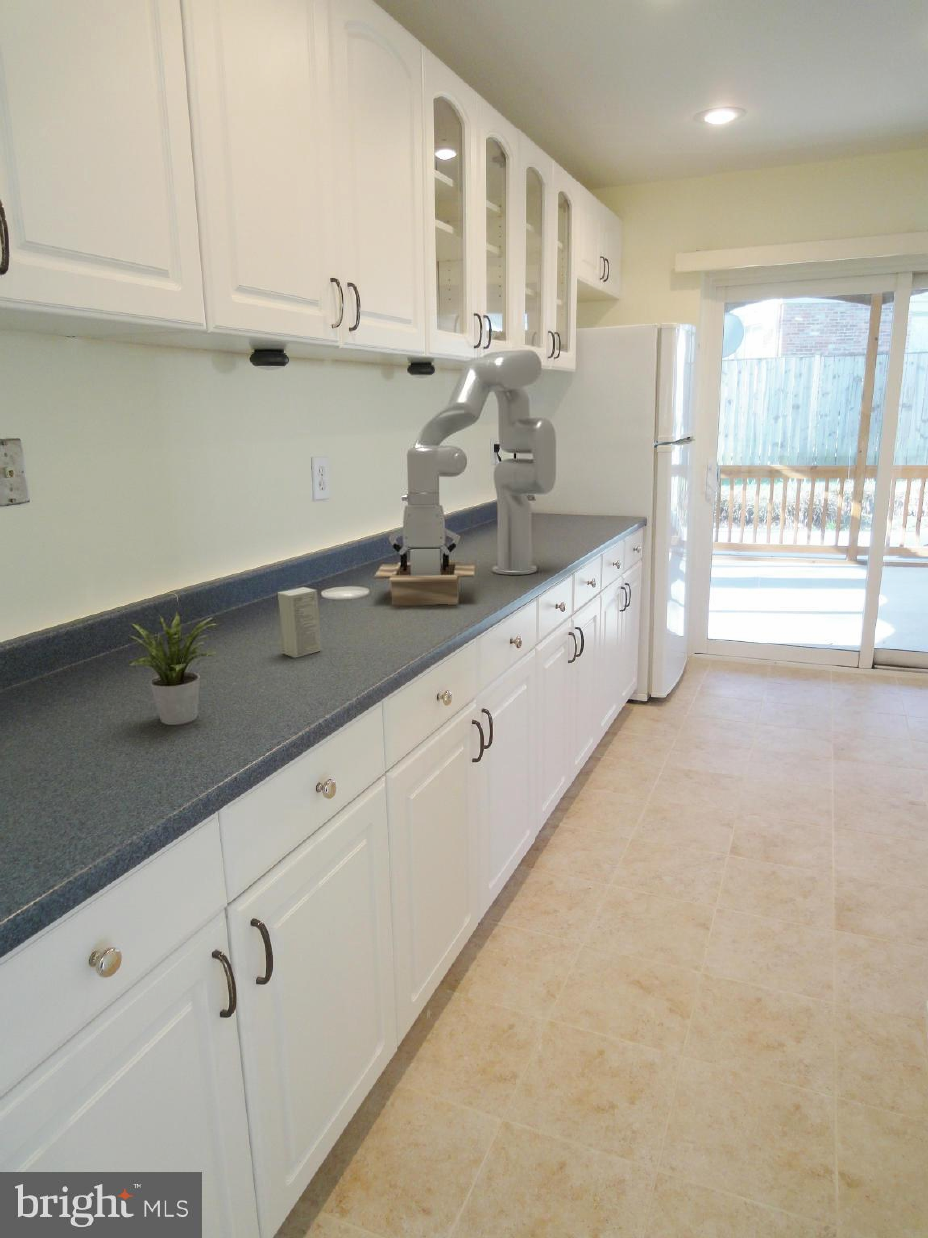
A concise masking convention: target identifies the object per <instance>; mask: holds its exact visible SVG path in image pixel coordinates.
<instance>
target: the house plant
mask: <svg viewBox="0 0 928 1238" xmlns="http://www.w3.org/2000/svg"><path fill="white" fill-rule="evenodd" d="M158 616H159V619H160V621H161V623H162V627H163V631H164V634H165V638H166V643H167V648H168V649H167V650H168V652H167V650H166V647H165V645H164V642H163V639H162V637H161V634H158V635H157V636H156V637H157V642H156V640H155V638H154V637H153V636H152V635H151V633H150V632H149V631H147V630H146V629H144V628H142V627H141V626H139V625H138V624H134V623H130V624H131V625H132V626H134V628H136V629H137V631H138V632H139V633H140V635H141V636H142V637H143V638H144V640H145V642H146V643H147V644H146V643H145V642H144V641H142V640H141V639H140V638H137V637H136V636H133V635H131V634H129V636H130V638H133V639H134V640H136V641H137V642H139V643H140V645H142V647H144V648H145V649H147V650H148V651H149V657H142V658H139V659H138V660H135V661H133V662H132V663H130V666H134V665H135V666H136V665H148V666H149V667H151V668H152V669H153V670H154V671H155V672H156V673H157V675H158V676H155V677H153V678H152V679H150V681H149V685H150V688H151V692H152V694H153V698H154V702H155V704H156V708H157V712H158V715H159V718H160V722H161V723H162V724H165V725H169V726H170V725H171V726H172V725H173V726H174V725H175V726H176V725H183V724H187V723H191V722H193V721H194V720H196V719H197V717H198V709H199V699H200V698H199V695H200V684H201V683H200V681H201V677H200V674H198V673H195V672H192V670H190V671H186V670H187V668H188V665H189V664H190V663H191V662H192V661H194V659H196V658H200V657H202V658H201V659H200V661H199V662H198V663H196V665H195V666H197V665H198V664H199V663H201V661H202V660H203V659H204V658H206V657H212V658H214V659H216V657H215V656H213V655H212V654H218V653H219V652H217V651H214V652H213V651H212V652H209V653H204V651H203V650H200V649H198V648H199V647H200V645H202V644H204V643H206V640H204V641H202V642H199V643H197V644H195V645H194V646H193V644H194V643H195V642H197V640H199V639H202V638H205V637H206V638H207V637H208V635H201V636H199V637H198V638H197V636H198V635H199V633H200V632H201V631H202V630H204V629H206V628H207V627H211V626H218V625H219V623H210V624H206V623H207V622H208V621H210V620H212V619H213V618H214V616H212V617H209V618H207V619H205V620H203V621H201V622H200V623H198V624H197V625H196V627H194V629H192V631H190V633H188V634H187V635H185V636H183V637H181V633H182V626H181V622H180V615H179V613H178V611H176V612H175V617H174V619H173V621H172V622H171V626H170V629H169V627H168V625H167V624H166V622H165V620H164V618H163V617H162V616H161V615H160V614H158ZM205 624H206V625H205ZM184 640H185V642H184V644H183V645H182V647H180V645H181V642H183V641H184ZM192 646H193V647H192ZM200 652H203V653H200ZM199 653H200V654H199Z"/></svg>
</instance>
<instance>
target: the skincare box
mask: <svg viewBox="0 0 928 1238" xmlns="http://www.w3.org/2000/svg"><path fill="white" fill-rule="evenodd" d="M277 599H278V601H277V602H278V612H279V614H278V615H279V623H280V624H279V625H280V636H281V637H280V638H281V639H280V640H281V648H282V650H281V651H282V655H283V654H284V655H285V656H289V657H291V658H295V659H296V658H299V657H303V656H307V655H310V654H314V653H317V652H320V651H321V650H322V646H321V634H320V619H319V618H320V617H319V615H320V614H319V604H318V602H319V601H318V590H317V589H313V588H310V587H306V586H302V587H296V588H292V589H288V590H283V591H278V592H277Z"/></svg>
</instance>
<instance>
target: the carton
mask: <svg viewBox="0 0 928 1238" xmlns="http://www.w3.org/2000/svg"><path fill="white" fill-rule="evenodd" d="M475 566H476V565H475V562H474V563H470V562H469V563H460V561H459V560H449V567H446V571H443V560H441V575H411V567H410V561H407V571H403V567H401V561H399V562H398V563H397V564H381V565H380V567H379V568H378V570H377V571H376V573H375V574H374V576H373V579H378V580H379V579H380V580H381V579H388V582H389V583H391V584H390V585H391V586H390V589H391V606H429V605H432V606H433V605H434V606H437V605H436V604H448V605H459V597H460V578H475V568H476V567H475Z"/></svg>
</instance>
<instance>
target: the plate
mask: <svg viewBox="0 0 928 1238" xmlns="http://www.w3.org/2000/svg"><path fill="white" fill-rule="evenodd" d="M320 594H321V597H322V598H324V599H326V600H327V599H328V600H337V601H338V600H342V601H343V600H354V599H359V598H360V599H361V598H364V597H368V596H369V595H370V589H369V588H368V587H364V586H363V587H362V586H354V585H353V586H351V585H349V586H337V587H331V588H327V589H324V590H321V592H320Z"/></svg>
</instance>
